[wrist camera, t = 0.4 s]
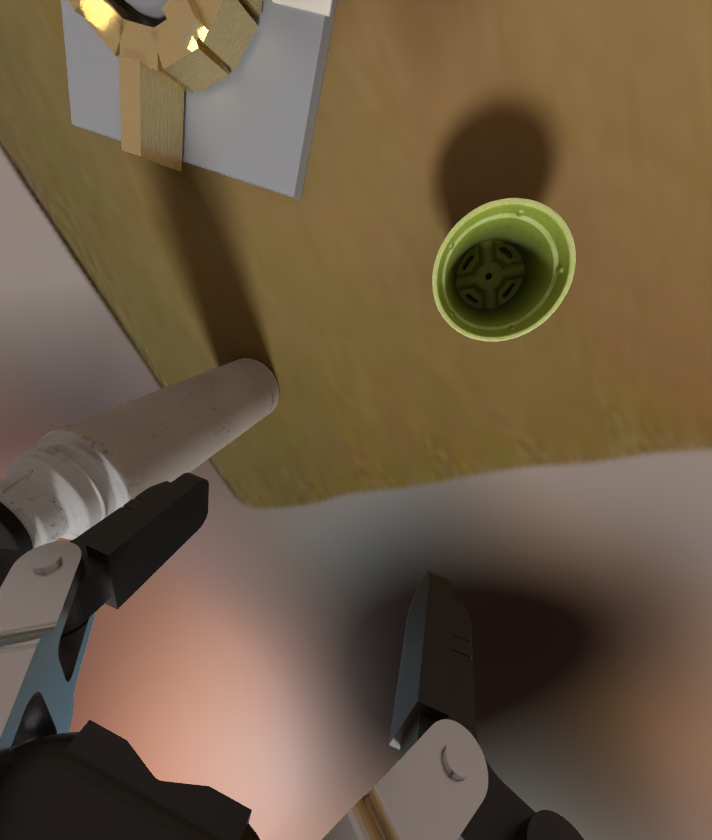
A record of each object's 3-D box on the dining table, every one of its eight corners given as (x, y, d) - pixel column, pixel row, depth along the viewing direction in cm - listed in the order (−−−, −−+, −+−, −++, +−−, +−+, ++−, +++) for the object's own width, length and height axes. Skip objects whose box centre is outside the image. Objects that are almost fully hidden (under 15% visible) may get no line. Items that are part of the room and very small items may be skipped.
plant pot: (479, 196, 29) (487, 167, 21) (569, 253, 29) (610, 245, 21) (419, 294, 33) (408, 299, 26) (497, 344, 33) (510, 364, 26)
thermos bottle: (269, 426, 45) (40, 609, 20) (219, 397, 45) (-64, 543, 21) (288, 377, 41) (36, 529, 17) (234, 346, 42) (-92, 450, 17)
